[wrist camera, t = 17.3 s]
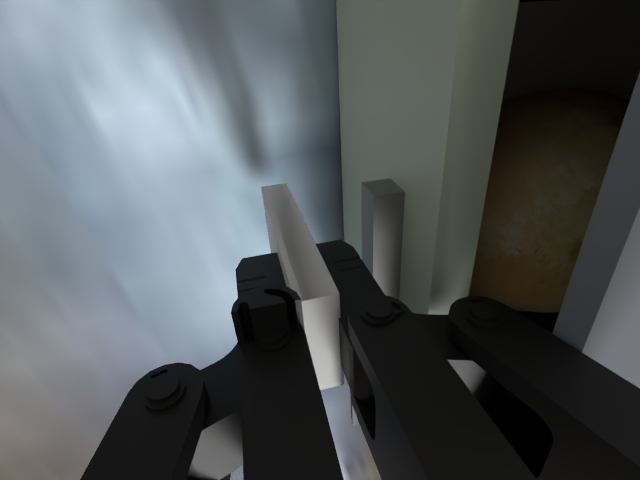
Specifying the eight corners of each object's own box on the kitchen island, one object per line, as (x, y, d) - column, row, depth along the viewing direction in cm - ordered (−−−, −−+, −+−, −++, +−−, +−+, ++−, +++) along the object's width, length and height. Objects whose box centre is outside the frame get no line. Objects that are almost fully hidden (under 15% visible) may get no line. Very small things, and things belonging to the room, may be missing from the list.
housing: (367, 319, 20) (491, 579, 10) (369, -24, 12) (805, -207, 3) (581, 278, 22) (849, 466, 12) (693, -41, 14) (1586, -184, 5)
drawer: (332, 333, 19) (386, 496, 13) (310, -34, 12) (419, -127, 5) (570, 287, 22) (728, 405, 15) (685, -51, 14) (1127, -133, 7)
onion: (383, 257, 17) (469, 383, 11) (430, 64, 13) (598, 91, 7) (531, 258, 19) (674, 365, 13) (607, 90, 15) (858, 128, 9)
